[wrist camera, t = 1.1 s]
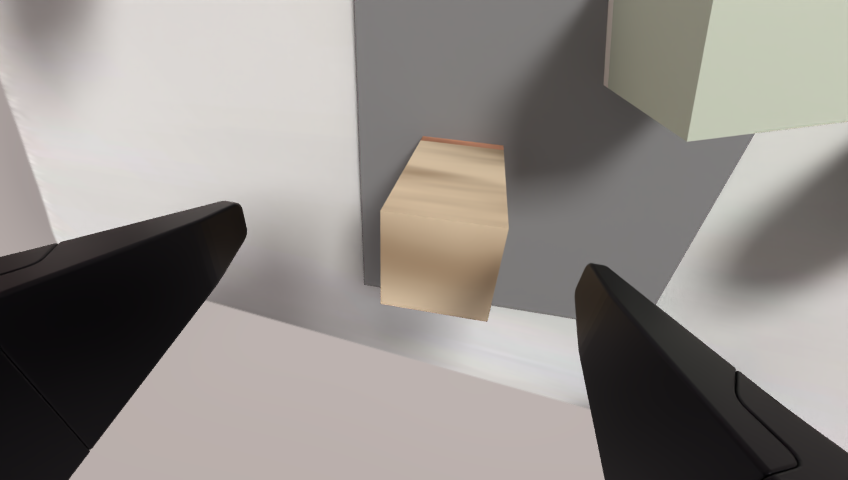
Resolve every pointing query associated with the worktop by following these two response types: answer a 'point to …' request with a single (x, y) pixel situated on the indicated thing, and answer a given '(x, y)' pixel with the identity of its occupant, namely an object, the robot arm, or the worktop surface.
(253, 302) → the worktop surface
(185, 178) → the worktop surface
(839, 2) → the sage block
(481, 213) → the beech block
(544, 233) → the mat
